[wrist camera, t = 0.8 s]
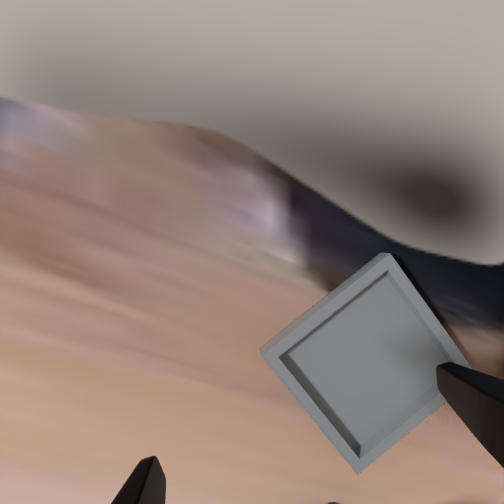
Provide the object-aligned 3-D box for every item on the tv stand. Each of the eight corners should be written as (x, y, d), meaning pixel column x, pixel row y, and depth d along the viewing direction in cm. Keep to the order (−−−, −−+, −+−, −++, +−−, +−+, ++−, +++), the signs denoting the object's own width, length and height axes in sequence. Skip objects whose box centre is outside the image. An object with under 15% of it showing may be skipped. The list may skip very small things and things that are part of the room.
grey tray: (463, 367, 26) (477, 375, 25) (350, 461, 26) (357, 474, 24) (380, 252, 25) (390, 253, 23) (259, 348, 24) (261, 355, 23)
